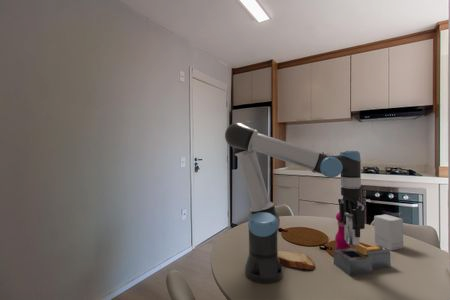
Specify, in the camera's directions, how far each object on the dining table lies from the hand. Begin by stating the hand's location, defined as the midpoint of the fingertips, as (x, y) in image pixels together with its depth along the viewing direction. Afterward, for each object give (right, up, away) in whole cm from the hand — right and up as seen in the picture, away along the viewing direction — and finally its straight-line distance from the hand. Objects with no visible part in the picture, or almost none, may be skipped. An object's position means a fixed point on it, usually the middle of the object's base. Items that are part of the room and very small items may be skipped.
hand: (351, 241), depth 95 cm
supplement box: (+31, -11, +21) cm, 39 cm away
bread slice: (-25, -12, +6) cm, 28 cm away
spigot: (0, -1, 0) cm, 1 cm away
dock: (+6, -11, +1) cm, 12 cm away
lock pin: (+8, -5, +1) cm, 10 cm away
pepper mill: (+6, -11, +18) cm, 22 cm away
